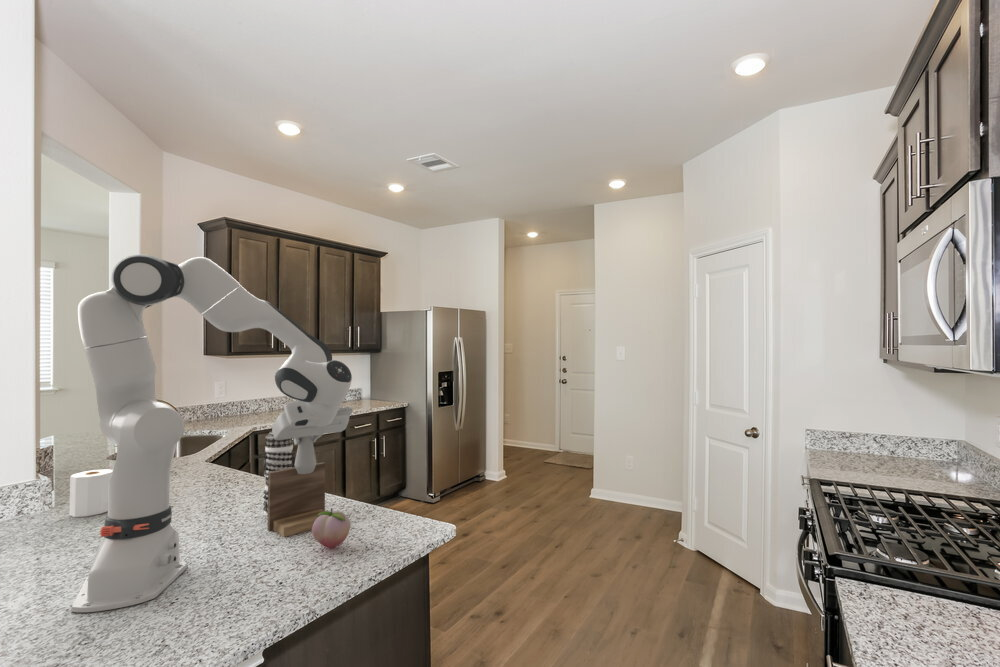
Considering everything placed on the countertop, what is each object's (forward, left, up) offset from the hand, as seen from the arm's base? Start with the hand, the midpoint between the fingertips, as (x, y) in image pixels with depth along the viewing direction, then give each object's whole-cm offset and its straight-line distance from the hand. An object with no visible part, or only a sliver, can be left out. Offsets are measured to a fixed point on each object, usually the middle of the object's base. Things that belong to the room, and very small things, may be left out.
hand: (304, 441), depth 137 cm
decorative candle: (+16, +8, -24) cm, 30 cm away
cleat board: (+1, 0, -24) cm, 24 cm away
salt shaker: (0, 0, -9) cm, 9 cm away
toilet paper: (+38, +63, -24) cm, 78 cm away
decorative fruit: (-19, -7, -24) cm, 31 cm away
